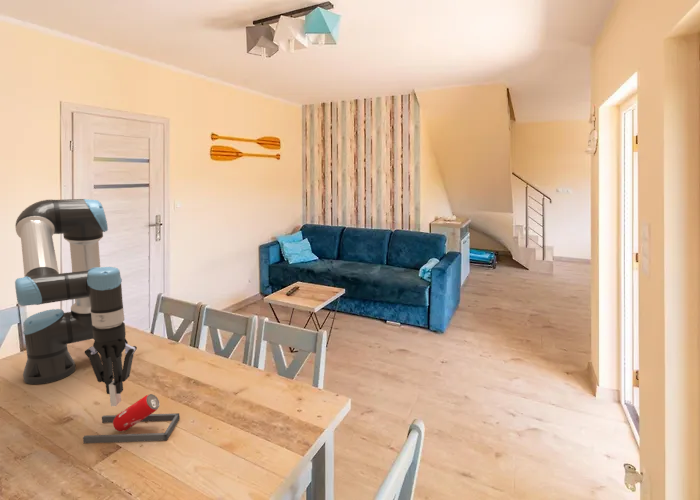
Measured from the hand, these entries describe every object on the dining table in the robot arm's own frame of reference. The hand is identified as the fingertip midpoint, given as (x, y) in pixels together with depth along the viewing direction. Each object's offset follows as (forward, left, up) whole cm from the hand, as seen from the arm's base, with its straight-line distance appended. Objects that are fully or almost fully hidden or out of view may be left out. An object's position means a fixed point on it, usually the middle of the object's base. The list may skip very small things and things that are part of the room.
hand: (116, 403), depth 108 cm
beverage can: (0, 0, -7) cm, 7 cm away
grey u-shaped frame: (+3, +3, -9) cm, 10 cm away
